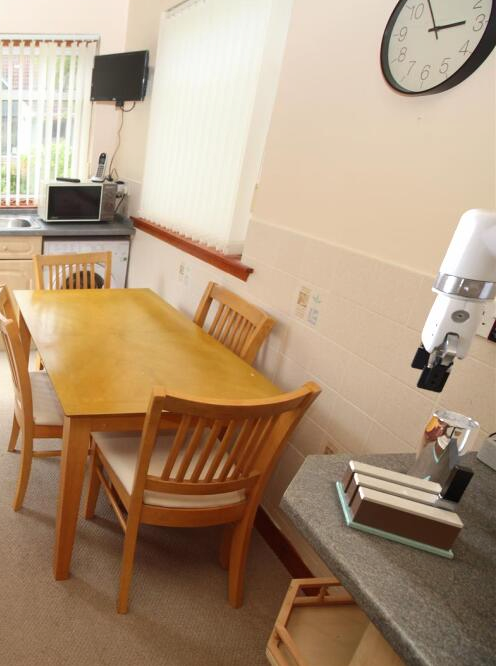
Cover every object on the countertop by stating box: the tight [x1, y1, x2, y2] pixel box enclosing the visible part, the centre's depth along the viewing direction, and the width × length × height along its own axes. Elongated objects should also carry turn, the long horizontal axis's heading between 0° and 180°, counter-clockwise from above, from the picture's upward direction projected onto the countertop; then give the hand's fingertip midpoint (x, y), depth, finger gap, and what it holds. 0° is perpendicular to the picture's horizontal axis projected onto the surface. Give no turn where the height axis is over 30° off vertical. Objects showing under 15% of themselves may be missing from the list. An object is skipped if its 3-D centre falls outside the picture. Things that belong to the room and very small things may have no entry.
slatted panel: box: [335, 459, 464, 560], centre depth 83 cm, size 14×12×6 cm
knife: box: [433, 464, 475, 513], centre depth 77 cm, size 2×1×14 cm, turn 63°
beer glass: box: [404, 409, 482, 488], centre depth 90 cm, size 7×7×15 cm
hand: (424, 379), depth 84 cm, fingers open, 9 cm apart
